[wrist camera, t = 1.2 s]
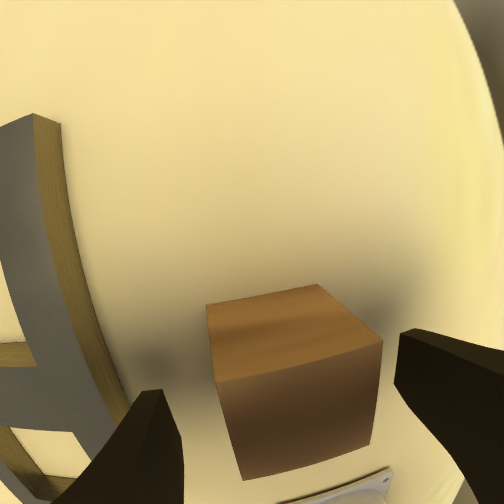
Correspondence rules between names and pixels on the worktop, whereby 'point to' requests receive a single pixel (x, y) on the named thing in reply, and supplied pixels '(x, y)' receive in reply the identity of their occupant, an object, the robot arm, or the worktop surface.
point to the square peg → (293, 378)
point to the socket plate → (47, 315)
